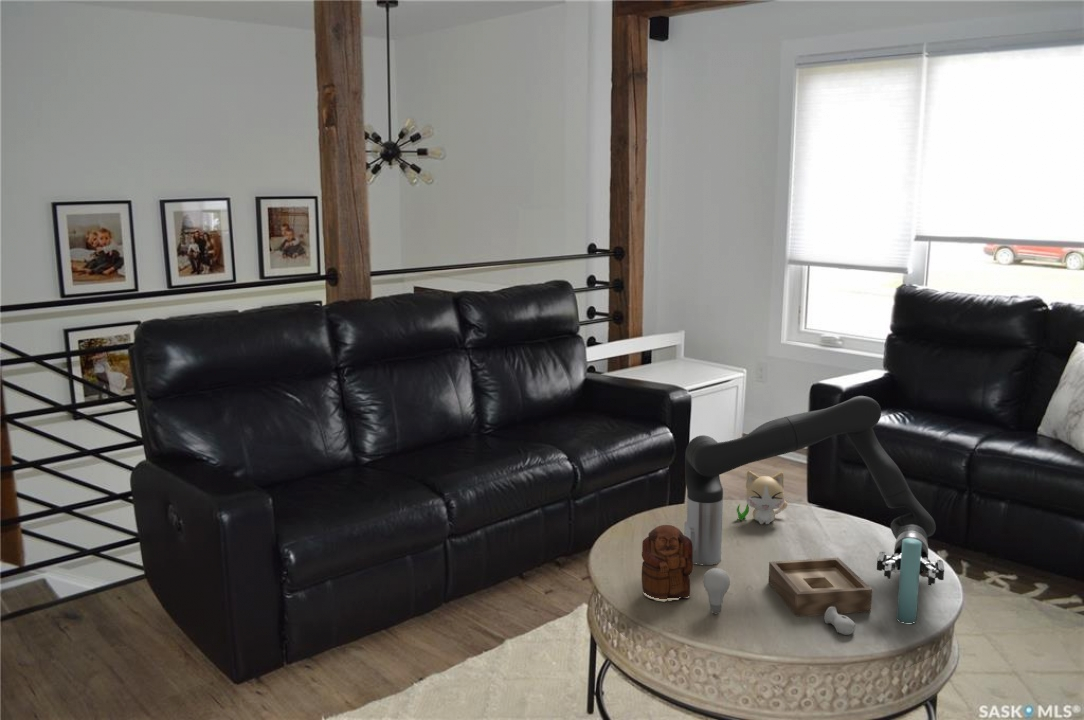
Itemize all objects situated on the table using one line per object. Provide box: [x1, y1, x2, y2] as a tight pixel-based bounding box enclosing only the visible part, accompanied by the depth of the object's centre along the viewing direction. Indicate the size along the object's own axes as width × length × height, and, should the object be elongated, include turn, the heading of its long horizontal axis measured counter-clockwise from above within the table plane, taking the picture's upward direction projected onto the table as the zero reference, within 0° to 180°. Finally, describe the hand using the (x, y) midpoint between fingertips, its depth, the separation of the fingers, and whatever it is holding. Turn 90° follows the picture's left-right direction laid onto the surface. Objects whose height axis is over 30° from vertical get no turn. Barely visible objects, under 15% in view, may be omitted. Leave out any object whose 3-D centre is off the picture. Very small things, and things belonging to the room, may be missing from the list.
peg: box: [896, 538, 922, 624], centre depth 201 cm, size 4×4×19 cm
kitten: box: [736, 470, 788, 525], centre depth 261 cm, size 15×10×15 cm, turn 80°
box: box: [768, 557, 873, 617], centre depth 214 cm, size 18×18×6 cm
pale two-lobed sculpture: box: [823, 607, 856, 636], centre depth 199 cm, size 4×8×5 cm
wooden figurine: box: [641, 524, 694, 599], centre depth 214 cm, size 12×6×18 cm, turn 98°
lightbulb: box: [702, 567, 731, 614], centre depth 206 cm, size 6×6×11 cm
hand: (909, 578), depth 199 cm, fingers open, 8 cm apart
